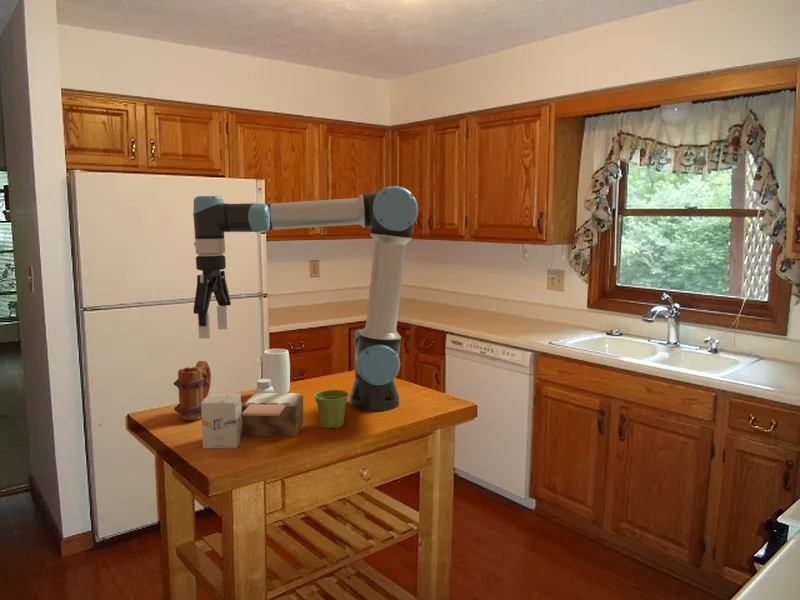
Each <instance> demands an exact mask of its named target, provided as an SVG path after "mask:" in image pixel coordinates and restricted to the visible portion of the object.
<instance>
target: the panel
mask: <svg viewBox="0 0 800 600" xmlns="http://www.w3.org/2000/svg"><path fill="white" fill-rule="evenodd" d="M284 408H285V405H257V404H250V405H249V406H248V407H247V409H246V410H245V411H244V412H243V413H242V412H241V415H264V416H279V415H280V413H281V412H282V411H283V409H284Z"/></svg>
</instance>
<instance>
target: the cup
mask: <svg viewBox="0 0 800 600" xmlns="http://www.w3.org/2000/svg"><path fill="white" fill-rule="evenodd" d="M262 356H263V357H262V374H263V375H262V376H263V378H262V379H270V380H271V385H270V386H271V387H273V388H274V393H290V392H289V391H290V387H291V386H290V385H291V383H290V382H291V362H290V354H289V350H288V349H285V348H270V349H266V350H264V351H263V354H262Z"/></svg>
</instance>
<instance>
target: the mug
mask: <svg viewBox="0 0 800 600" xmlns="http://www.w3.org/2000/svg"><path fill="white" fill-rule="evenodd" d="M211 380H212V373H211V369H210V366H209V363H208V361H205V360H198V361H197V362H196V364H195V366H192V367H189V366H188V367H183V368H181V369H179V370H178V371H177V379H176V380H175V381H174V382H173V386H175V387H176V388H178V403H177V405H176V406H175V407H174V408H173V409H174V411H175V412H176V413H177V414H178V415H179V418H180V419H181V420H183V421H197V420H200V419H202V412H201V403H202V401H203V400H204V399H205V398H206V397H207V396H208V395H209V392H210V388H211Z"/></svg>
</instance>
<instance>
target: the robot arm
mask: <svg viewBox="0 0 800 600" xmlns="http://www.w3.org/2000/svg"><path fill="white" fill-rule="evenodd" d="M418 212H419V207H418V202H417V200H416V198H415V196H414V194H413V193H412V192H411V191H409V190H408V189H407V188H405V187H404V186H398V185H394V186H393V185H390V186H387V187H384V188H382V189H381V190H379V191H377V192H372V193H363V194H362V193H361V194H360V195H359V196H357V197H352V198H339V199H321V200H305V201H294V202H293V201H291V202H275V203H274V202H273V203H258V202H253V203H225V202H224V200H223V197H222V196H220V195H218V196H217V195H199V196H196V197H195V198H194V199H193V212H192V216H193V227H194V228H193V229H194V242H193V246H194V247H195V254H196V257H195V267H196V270H197V271H202V274H198V275H196V276H197V277H196V290H195V296H194V303H193V314H195V315H197V326H198V339H203V340H205V339H206V340H207V339H211V327H210V326H211V325H210V324H211V323H210V313H209V307H210V302H211V299H212V294H214V297H215V300H216V302H217V304H218V305H217V306H216V313H217V314H216V316H217V329H218V330H228V329H229V315H228V312H229V311H228V306H231V305H232V302H231V298H230V293H229V289H228V285H227V280H226V273H225V269H226V266H227V262H226V256H225V255H224V254H225V253H226V239H225V233H260V232H262V233H263V232H268V231H275V230H289V229H305V228H307V229H309V228H319V227H320V228H322V227H334V226H335V227H337V226H338V227H339V226H351V225H352V226H353V225H355V226H356V225H360V226H362V228H370V230H369V232H370V233H369V235H370V236H371V238H372V239H373V241H374V245H373V255H372V263H371V272H370V284H369V291H368V302H367V311H366V319H365V320H366V321H365V327H364V328H363V329H358V330H356V331H355V332H354V338H353V342H354V382H353V385H352V387H351V391H350V393H349V397H348V399H349V406H350V407H351V408H353V409H356V410H360V411H368V412H369V411H370V412H374V411H375V412H380V411H387V410H392V409H395V408H396V407H398V406H399V404H400V395H399V391H398V389H397V386H396V382H395V378H396V377H397V376H398V374H399V372H400V367H401V358H400V351H401V348H400V347H401V340H402V336H401V335H400V333H399V332H398V329H397V326H398V317H399V308H400V302H401V290H402V281H403V274H404V265H405V255H406V247H407V246H406V245H407V244H408V243H409V242H411V240H413V234H414V228H415V227H414V226H415V221H416V220H417V216H418Z"/></svg>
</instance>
